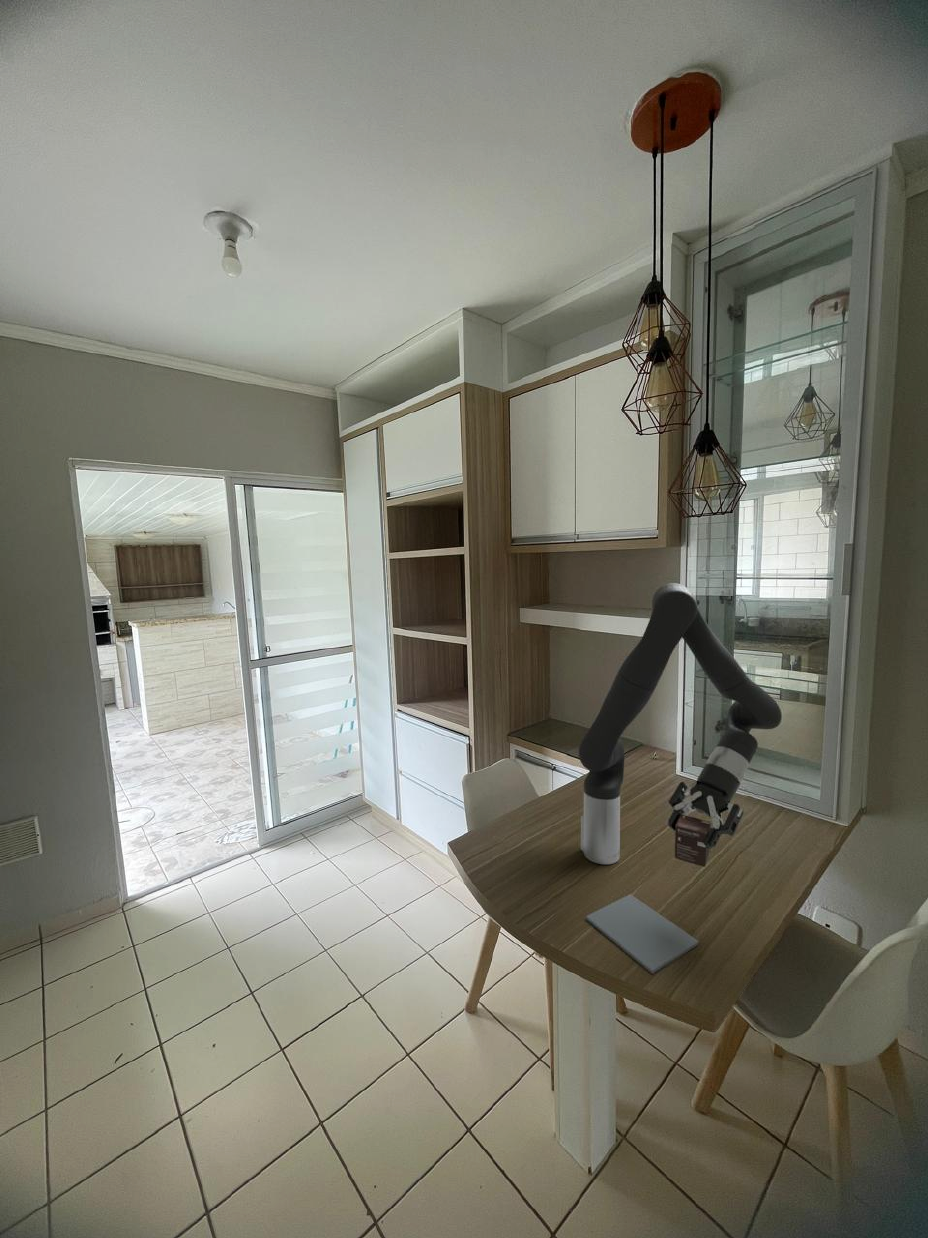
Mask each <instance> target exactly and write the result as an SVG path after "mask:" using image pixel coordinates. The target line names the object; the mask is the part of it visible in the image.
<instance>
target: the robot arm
mask: <svg viewBox="0 0 928 1238" xmlns="http://www.w3.org/2000/svg"><path fill="white" fill-rule="evenodd" d="M651 605H652V606H651V607H652V611H651V614H650V618H649V620H648V623H647V625H646V627H645V631H644V633H643V634H642V637H641V638H640V640H639V641H638V643H637V645H636V646H635V647H634V648H633V649H632V650H631V651H630V653H629V654H628V656H626V658H625V660H623V662H622V664H621V666H620V667H619V669H618V671H617V673H616V676H615V678H614V680H613V682H612V683H611V686H610V688H609V691H608V693H607V694H606V696H605V699H604V701H603V703H602V705H601V707H600V710H599V712H598V714H597V716H596V718H595V719H594V721H593V723H592V724H591V726H590V727H589V729H587V732H586V733H585V734H584V736H583V738H582V739H581V741H580V743H579V746H578V757H579V761H580V763H581V764H582V766H583V768H585V769H586V770H587V771H588V773H587V775H586V777H585V778H584V781H583V814H582V815H581V816H580V850H581V851H582V852H583V855H584V857H585V858H586V859H588V861H591V862H592V863H595V864H600V865H612V864H615V863H617V862H618V861H620V843H621V842H620V841H621V840H620V839H621V838H620V837H621V836H620V835H621V833H620V832H621V831H620V830H621V823H620V822H621V788H622V784H623V782H624V773H625V748H624V747H625V746H624V742H623V741H622V738H621V736H622V735H623V733H624V731H625V730H626V729H627V728H628V726H629V725H631V723H632V722H633V721H634V720H635V719H636V718H637V717H638V715H639V714H640V713H641V712H642V711H643V709H644V708H645V707H646V705H647V704H648V703H649V701H650V699H651V697H652V696H653V693H654V691H655V690H656V688H657V686H658V684H659V681H660V679H661V678H662V677H663V673H664V671H665V669H666V667H667V664H668V662H669V660H670V657H671V656H672V653H673V651H674V650H675V648H677V647H676V646H677V645H678V644H679V642H680V641H681V640H684V643H686V645H687V646H688V648H689V650H690V651H691V653H692V654H693V656H694V658H695V659H696V661H697V662H698V664H699V666H700V667H701V668H702V670H703V672H704V674H705V675H706V676H707V678H708V679H709V680H710V682H711V683H712V685H713V687H714V688H716V689H717V691H718V693H719V694H720V695H721V696H722V697H723V698H725V699H727V700H731V701H734V702H733V703H731V705H730V706H729V709H728V711H727V716H726V720H725V721H726V722H725V725H724V730H723V731H724V732H723V734H722V736H721V738H720V739H719V742H718V743H717V745H716V747H715V748H714V750H713V751H712V752H711V753H710V756H709V757H708V759H707V760H706V763H705V764H704V766H703V768H702V769H701V771H700V773H699V775H698V777H697V778H696V783H695V785H693V786H692V787H691V786H689V785H686V783H685V782H684V781H680V783H678V785H677V787H676V788H675V790H674V791H673V793H672V795H671V796H670V798H669V800H668V804H669V805H670V806H671V808H672V809H673V811H672V813H671V815H670V817H669V818H668V821H667V823H668V827H669V828H670V829H671V830H672V831H675V827H676V824H677V822H678V820H679V818H680V815H687V814H688V813H693V812H696V811H697V812H698V813H700V814H704V815H706V816H707V817H709V818H711V821H712V826H713V827H710V831H709V833H708V835H707V837H706V838H705V840H704V845H705V846H706V847H707V848H709V849H710V850H712V848H715V847H716V846H717V844H718V842H719V840H720V837H721V836H722V835H728V836H730V837H731V836H734V835H735V833H736V831H737V829H738V826H739V824H740V822H741V820H742V817H743V815H744V814H745V813H744V810H743V809H742V807H741V806H740V805H739V804H738V803H731V801H732V800H733V799H734V797H735V795H736V793H737V791H738V789H739V787H740V786H741V784H742V782H743V780H744V779H745V776H746V773H747V770H748V768H749V765H750V763H751V761H752V759H753V757H754V756H755V753H756V752H757V749H758V746H759V744H758V740H757V738H755V736H753V735H752V734H751V733H750V732H751V730H752V729H753V730H766V731H767V730H774V729H776V728H777V727H779V726H780V724H781V722H782V717H783V716H782V715H783V714H782V711H781V708H780V706H779V704H778V702H777V701H776V699H774V698H773V697H772V696H771V695H770V694H769V693H768V692H766V691H765V690H764V689H763V688H762V687H761V686H759V685H758V684H757V683H756V682H754V681H753V680H751V679H750V677H749V676H748V674H747V673H746V671H744V669H743V667H741V665H740V664H739V663H738V661H737V660H736V659H735V657H733V655H732V653H730V651H729V650H728V649H727V648H726V647H725V646H724V644H723V643H722V642H721V640H720V639H719V638H718V637H717V636H716V634H715V632H713V630H712V629H711V627H710V626H709V625H708V623H707V622H706V620H705V618H704V617H703V616H702V613H701V611H700V610H699V608H698V602H697V600H696V598H695V596H694V593H693V592H692V590H690V589H689V588H688V587H687V586H685V585H683V584H682V583H678V582H677V583H674V582H671V583H666V584H663V585H661V586H660V587H658V589H657V590H656V591H655V593H654V594H653V597H652V601H651ZM689 794H690V796H689ZM727 811H728V815H727V817H726V820H725V822H724V819H723V816H722V814H723V813H724V812H727Z"/></svg>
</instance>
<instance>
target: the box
mask: <svg viewBox="0 0 928 1238" xmlns="http://www.w3.org/2000/svg"><path fill="white" fill-rule="evenodd" d="M711 825H712V823H711V821H709V820H708V821H707V820H704V819H700V818H698V817H694V816H688V815H686V814H684V815H680V818H679V820H678V822H677V824H676V827H675V832H674V833H675V834H674V837H675V838H674V858H675V859H677V860H680V861H684V862H685V863H690V864H694V865H696V866H699V867H703V868H705V867H706V866H707V861H708V858H709V856H710V850H711V849H709V848H707V847H706V846H705V845H704V840H705V838H706V837H707V835H708V833H709V831H710V829H711Z"/></svg>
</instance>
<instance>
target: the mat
mask: <svg viewBox="0 0 928 1238" xmlns="http://www.w3.org/2000/svg"><path fill="white" fill-rule="evenodd" d="M585 920H586V921H588V922H589V923H590V924H591V925H592V926H594V927H595V928H596V929H597V930H599V931H600V932H601V933H602V934H603V935H605V936H606V937H607V938H608V939H609V940H611V941H612V942H613V943H614V944H615V945H616V946H618V947H619V948H620V949H622V951H624V952H625V953H626V954H628V956H630V957H631V958H632V959H634V960H635V961H636V962H637V963H638V964H640V965H641V966H642V967H643V968H644V969H645V970H647V971H648V972H649V973H651V974H655V973H656V972H658V971H660V970H661V969H662V968H664V967H666V966H667V965H669V964H670V963H672V962H674V961H675V960H676V959H678V958H680V957H681V956H683V955H684V954H685V953H687V952H689V951H690V950H692V949H693V948H695V947H697V946H699V944H700V941H699V940H698V939H696V938H695V937H693V936H692V935H690V934H689V933H688V932H686V931H685V930H683V928H680V927H679V926H678V925H676V924H674V923H673V922H672V921H670V920H669V919H667V918H666V917H664V916H663V915H661V914H660V913H658V912H657V911H656V910H654V909H652V908H651V907H650V906H648V905H647V904H645V903H644V902H642V901H641V900H639V899H638V898H636V897H635V896H633V894H631V893H629V894H627V895H625V896H624V897H621V898H620V899H618V900H615V901H613V902H611V903H609V904H607V905H606V906H604V907H602V908H599V909H598V910H596V911H593V912H592V913H590V914H588V915H586V916H585Z"/></svg>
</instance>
